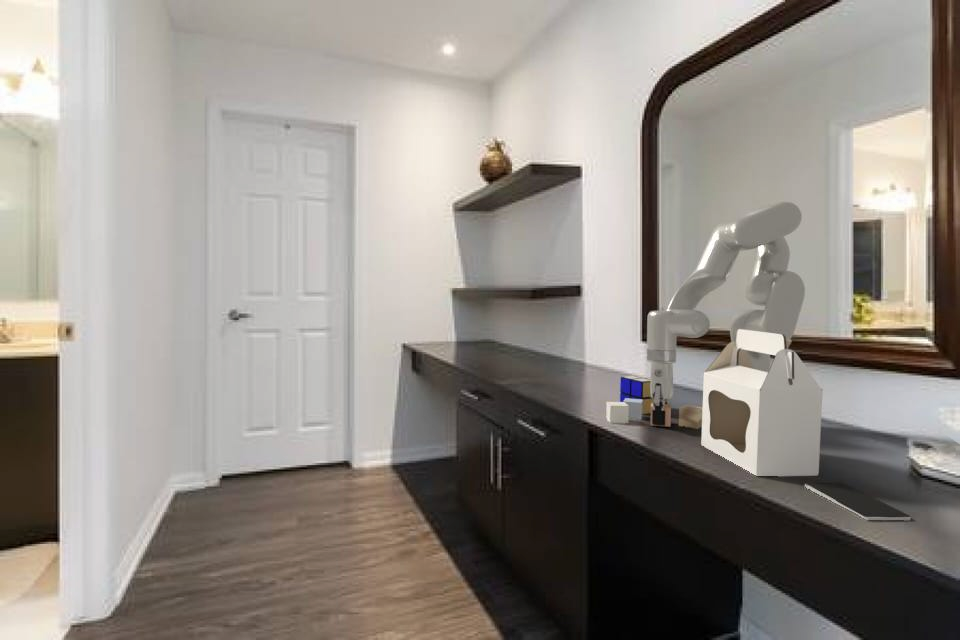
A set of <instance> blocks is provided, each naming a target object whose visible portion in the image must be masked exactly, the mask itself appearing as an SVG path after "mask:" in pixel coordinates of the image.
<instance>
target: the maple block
mask: <svg viewBox="0 0 960 640" xmlns="http://www.w3.org/2000/svg"><path fill="white" fill-rule="evenodd" d="M678 409H679V410H678V426H679V427H683V426H685V427H684V428H689V427H690V429H695V430H698V429H700V428H702V410H703V406H696V405H689V404H686V405H682V406H680V407H679V408H678Z"/></svg>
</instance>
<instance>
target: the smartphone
mask: <svg viewBox="0 0 960 640" xmlns="http://www.w3.org/2000/svg"><path fill="white" fill-rule="evenodd" d="M805 487H806V488H807V489H806V488H805ZM804 488H805V489H806V490H808V489H810V490H811V491H813V492H815V493H817V494H819V495H820V496H823V497H825V498H827V499H828V500H831V501H832V502H834V503H836V504H838V505H840V506H842V507H844V508H846V509H848V510H850V511H852V512H854V513H856V514H858V515H859V516H861V517H862V518H864V519H866V520H904V521H911V515H909V514H907V513H905V512H903V511H901V510H899V509H897V508H895V507H893V506H891V505H889V504H887V503H885V502H883V501H881V500H879V499H877V498H875V497H873V496H871V495H870V494H866V493H865V492H862V491H861V490H859V489H857V488H854V487H853V486H851V485H849V484H847V483H846V482H839V481H838V482H805V483H804ZM810 490H809V491H810ZM811 491H810V492H811ZM813 492H812V493H813ZM820 496H819V497H820ZM823 497H822V498H823ZM828 500H827V501H828ZM832 502H831V503H832ZM834 503H833V504H834ZM866 520H865V521H866Z"/></svg>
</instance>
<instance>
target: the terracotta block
mask: <svg viewBox="0 0 960 640" xmlns="http://www.w3.org/2000/svg"><path fill="white" fill-rule="evenodd" d="M664 410H665V425H664V426H663V427H668V428H670V427H671V426H672V425H671V423H672V422H671V420H672V418H671V415H672V412H671V411H672V408H671V404H670V403H668V404H664ZM652 413H653V403H651V414H650V426H652V427H653V426H655V427H656V426H657V427H658V426H659V427H662V426H661V425H653V424H652Z"/></svg>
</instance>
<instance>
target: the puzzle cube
mask: <svg viewBox="0 0 960 640" xmlns="http://www.w3.org/2000/svg"><path fill="white" fill-rule="evenodd" d="M650 376H651V375H648V374H647V375H646V374H643V375H628V376H627V375H626V376H620V388H619V390H620V391H619V392H620V394H619V402H623V401H624V399H625V398H630V399H642V400H643V413H642V416H645V415H651V403H653V399H652V398H651V394H650Z"/></svg>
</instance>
